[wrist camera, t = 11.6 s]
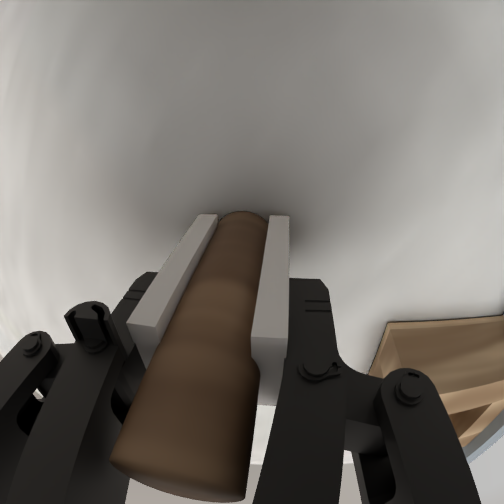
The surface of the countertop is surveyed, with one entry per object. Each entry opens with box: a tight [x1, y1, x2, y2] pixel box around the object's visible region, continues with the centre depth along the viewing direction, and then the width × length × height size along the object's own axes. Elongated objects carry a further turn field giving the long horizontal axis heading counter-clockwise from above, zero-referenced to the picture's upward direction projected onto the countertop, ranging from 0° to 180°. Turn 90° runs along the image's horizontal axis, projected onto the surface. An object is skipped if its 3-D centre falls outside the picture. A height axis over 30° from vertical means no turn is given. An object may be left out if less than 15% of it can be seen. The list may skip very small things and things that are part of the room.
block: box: [368, 315, 504, 447], centre depth 13 cm, size 9×9×5 cm
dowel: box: [109, 211, 269, 503], centre depth 8 cm, size 3×3×10 cm
